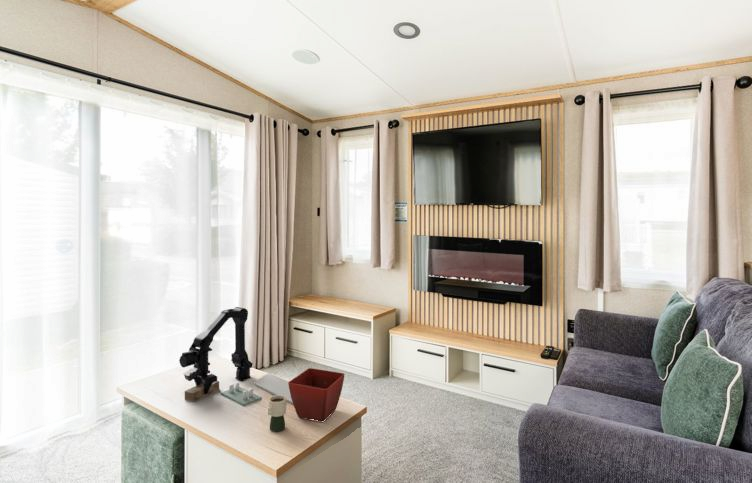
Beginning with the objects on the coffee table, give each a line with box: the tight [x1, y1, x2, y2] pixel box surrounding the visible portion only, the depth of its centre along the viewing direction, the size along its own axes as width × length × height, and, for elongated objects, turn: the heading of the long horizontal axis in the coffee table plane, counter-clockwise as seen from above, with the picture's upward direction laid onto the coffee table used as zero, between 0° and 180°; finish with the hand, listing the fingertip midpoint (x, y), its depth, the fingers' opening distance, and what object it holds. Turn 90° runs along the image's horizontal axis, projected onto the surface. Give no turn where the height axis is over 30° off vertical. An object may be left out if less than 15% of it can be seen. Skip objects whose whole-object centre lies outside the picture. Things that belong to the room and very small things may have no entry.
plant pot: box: [288, 367, 345, 422], centre depth 181 cm, size 19×19×17 cm
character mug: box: [267, 395, 288, 432], centre depth 167 cm, size 11×7×13 cm, turn 152°
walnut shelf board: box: [184, 380, 220, 403], centre depth 200 cm, size 16×6×4 cm, turn 156°
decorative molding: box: [253, 372, 293, 405], centre depth 205 cm, size 34×5×10 cm
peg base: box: [220, 381, 263, 407], centre depth 198 cm, size 10×20×5 cm, turn 51°
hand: (202, 392), depth 200 cm, fingers closed on walnut shelf board, 7 cm apart
